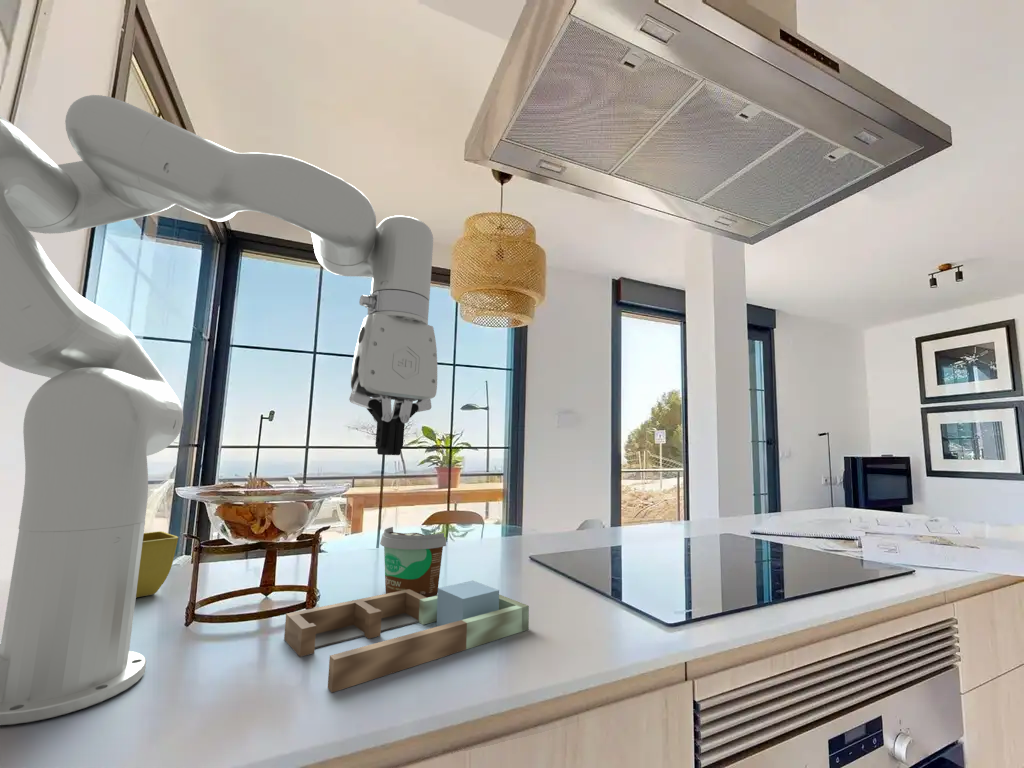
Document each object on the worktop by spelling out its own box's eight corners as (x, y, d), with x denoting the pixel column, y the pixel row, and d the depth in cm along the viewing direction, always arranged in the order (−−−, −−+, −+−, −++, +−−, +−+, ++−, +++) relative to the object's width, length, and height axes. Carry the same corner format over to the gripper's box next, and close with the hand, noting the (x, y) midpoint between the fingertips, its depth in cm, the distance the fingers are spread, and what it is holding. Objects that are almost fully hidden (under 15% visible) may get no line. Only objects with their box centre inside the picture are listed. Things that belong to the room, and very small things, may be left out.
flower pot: (102, 609, 68) (110, 545, 69) (87, 597, 73) (95, 537, 74) (173, 594, 75) (179, 536, 76) (155, 584, 80) (161, 530, 81)
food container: (361, 594, 76) (364, 531, 78) (387, 585, 82) (390, 526, 83) (420, 607, 71) (423, 538, 72) (444, 596, 76) (446, 533, 77)
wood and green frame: (331, 692, 45) (334, 659, 46) (284, 639, 58) (286, 613, 58) (528, 629, 62) (528, 605, 63) (458, 598, 75) (459, 579, 75)
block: (462, 640, 59) (463, 598, 59) (436, 626, 63) (437, 588, 64) (498, 629, 63) (499, 590, 63) (471, 616, 67) (472, 580, 68)
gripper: (355, 291, 53) (340, 453, 50) (462, 319, 63) (455, 457, 60) (331, 306, 59) (317, 452, 56) (433, 329, 68) (425, 455, 66)
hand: (388, 454), depth 58 cm, fingers closed
